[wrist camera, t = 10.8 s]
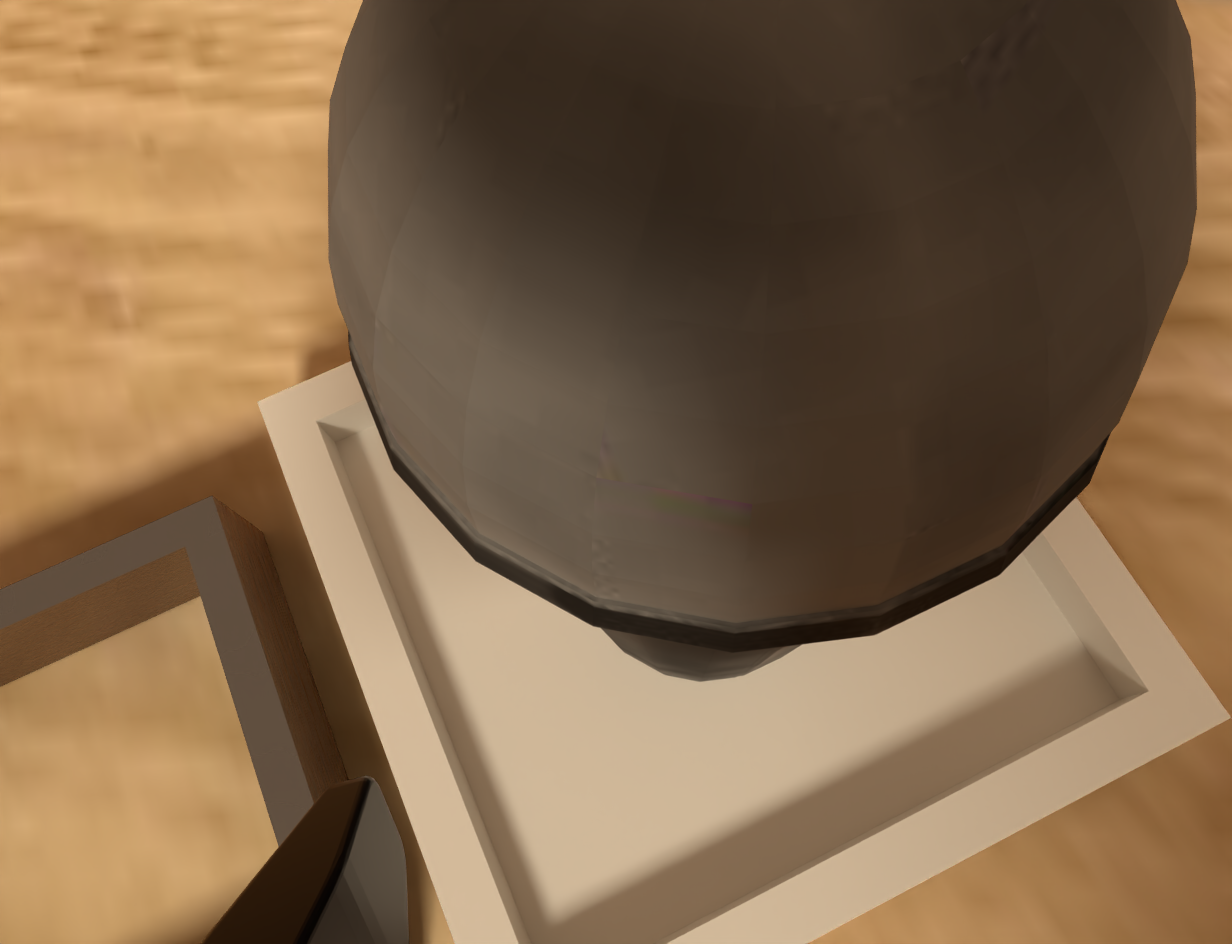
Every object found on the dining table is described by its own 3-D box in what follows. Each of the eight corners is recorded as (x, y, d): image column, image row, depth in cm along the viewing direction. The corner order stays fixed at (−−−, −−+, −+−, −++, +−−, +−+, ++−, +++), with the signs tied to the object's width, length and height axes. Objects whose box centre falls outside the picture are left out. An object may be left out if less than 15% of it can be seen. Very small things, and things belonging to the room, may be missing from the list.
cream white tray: (819, 210, 24) (833, 151, 22) (1170, 729, 19) (1231, 718, 17) (295, 441, 22) (257, 401, 20) (530, 1068, 17) (511, 1100, 15)
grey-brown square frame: (262, 532, 21) (212, 495, 19) (425, 1003, 18) (388, 1030, 16) (-192, 736, 20) (-304, 724, 18) (-115, 1281, 17) (-242, 1354, 14)
